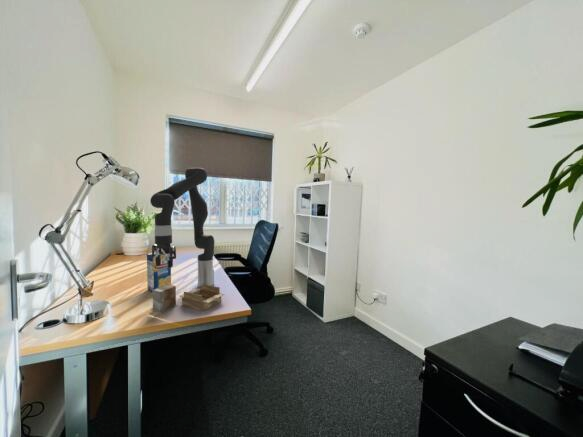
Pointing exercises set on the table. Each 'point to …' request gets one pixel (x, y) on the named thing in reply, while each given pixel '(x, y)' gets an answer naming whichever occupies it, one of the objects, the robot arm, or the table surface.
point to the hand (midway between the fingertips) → (164, 266)
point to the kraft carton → (202, 297)
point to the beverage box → (157, 273)
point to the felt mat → (167, 309)
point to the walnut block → (164, 298)
